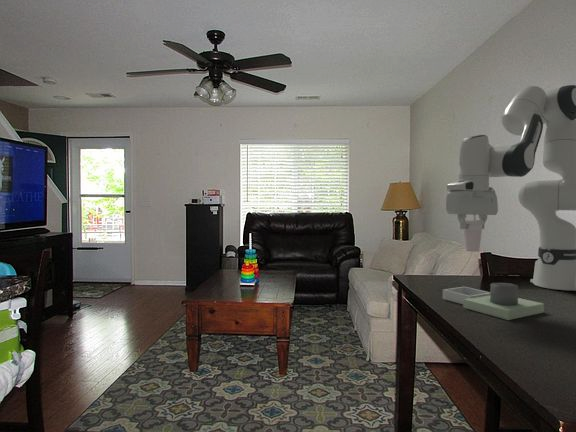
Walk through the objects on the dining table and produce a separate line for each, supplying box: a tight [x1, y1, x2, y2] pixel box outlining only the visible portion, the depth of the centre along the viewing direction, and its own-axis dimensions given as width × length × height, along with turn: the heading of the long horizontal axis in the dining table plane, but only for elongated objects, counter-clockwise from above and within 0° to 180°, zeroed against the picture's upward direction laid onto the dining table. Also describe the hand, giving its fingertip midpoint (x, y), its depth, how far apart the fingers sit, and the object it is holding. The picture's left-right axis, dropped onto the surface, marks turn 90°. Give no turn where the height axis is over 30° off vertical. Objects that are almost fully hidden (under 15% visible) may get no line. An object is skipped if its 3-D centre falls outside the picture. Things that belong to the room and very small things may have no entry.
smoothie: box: [463, 215, 485, 253], centre depth 129 cm, size 6×6×14 cm
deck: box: [442, 282, 545, 321], centre depth 121 cm, size 16×24×8 cm, turn 27°
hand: (472, 229), depth 129 cm, fingers closed on smoothie, 6 cm apart
